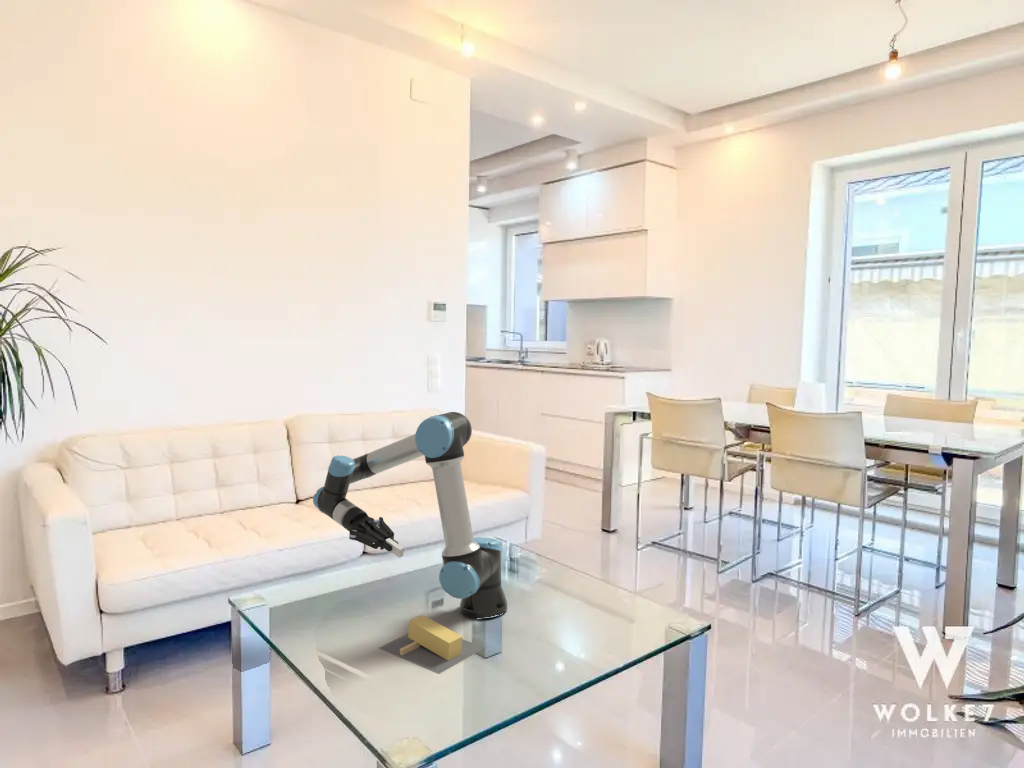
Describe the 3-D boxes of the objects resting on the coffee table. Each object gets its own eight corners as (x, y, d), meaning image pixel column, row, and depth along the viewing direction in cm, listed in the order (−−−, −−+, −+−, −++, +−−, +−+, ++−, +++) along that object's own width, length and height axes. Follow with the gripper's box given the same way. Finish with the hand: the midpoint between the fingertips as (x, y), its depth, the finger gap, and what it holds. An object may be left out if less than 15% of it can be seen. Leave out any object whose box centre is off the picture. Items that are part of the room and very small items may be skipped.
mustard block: (409, 620, 183) (449, 643, 173) (422, 614, 187) (462, 636, 177) (408, 637, 183) (448, 660, 173) (421, 631, 187) (461, 653, 177)
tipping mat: (378, 650, 182) (378, 642, 182) (425, 628, 196) (425, 620, 196) (439, 676, 167) (438, 668, 166) (485, 650, 181) (485, 642, 180)
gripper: (366, 519, 211) (416, 554, 198) (333, 534, 201) (383, 572, 188) (367, 499, 208) (419, 533, 195) (334, 514, 198) (385, 551, 185)
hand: (401, 552), depth 192 cm, fingers closed
